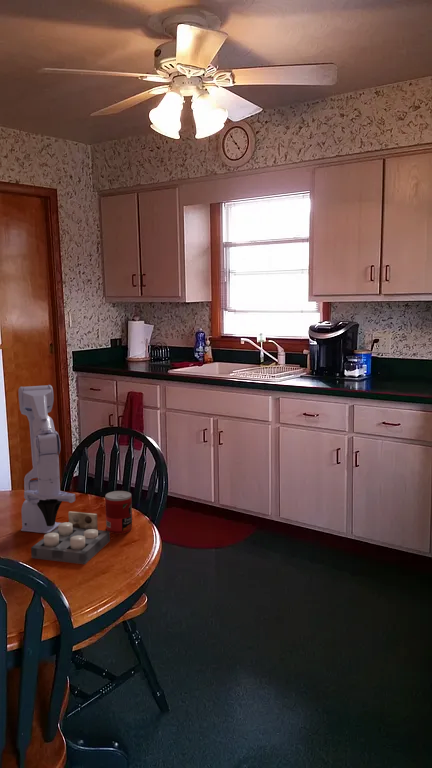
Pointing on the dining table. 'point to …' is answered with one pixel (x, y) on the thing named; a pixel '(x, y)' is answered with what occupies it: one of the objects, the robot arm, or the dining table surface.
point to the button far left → (65, 529)
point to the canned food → (118, 512)
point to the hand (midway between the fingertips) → (50, 525)
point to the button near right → (77, 542)
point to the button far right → (91, 533)
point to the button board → (65, 551)
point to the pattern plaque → (83, 520)
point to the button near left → (51, 539)
